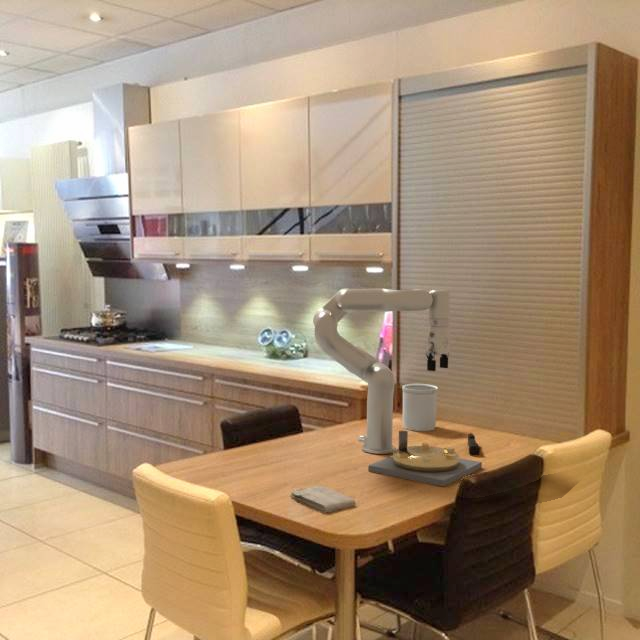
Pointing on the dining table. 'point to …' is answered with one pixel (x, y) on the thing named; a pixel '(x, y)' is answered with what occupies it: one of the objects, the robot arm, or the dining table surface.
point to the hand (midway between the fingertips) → (437, 369)
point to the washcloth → (322, 499)
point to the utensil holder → (419, 407)
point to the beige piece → (424, 456)
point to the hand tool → (473, 445)
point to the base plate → (434, 478)
